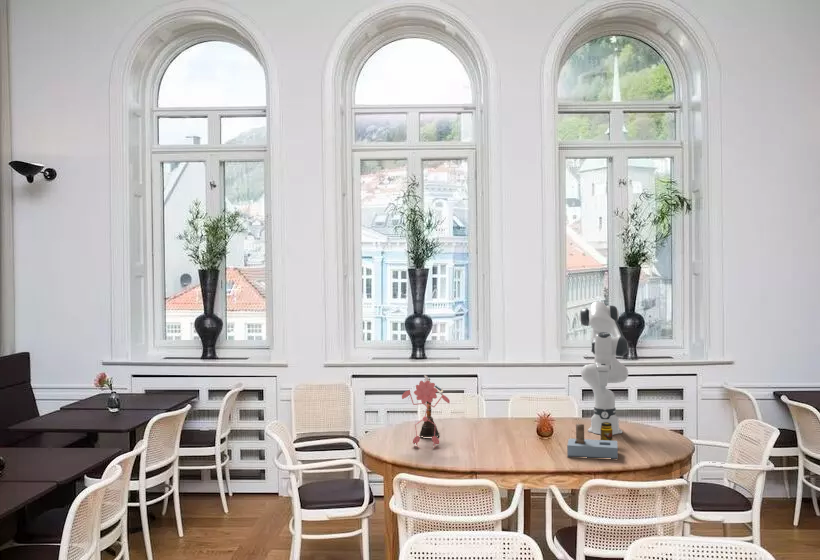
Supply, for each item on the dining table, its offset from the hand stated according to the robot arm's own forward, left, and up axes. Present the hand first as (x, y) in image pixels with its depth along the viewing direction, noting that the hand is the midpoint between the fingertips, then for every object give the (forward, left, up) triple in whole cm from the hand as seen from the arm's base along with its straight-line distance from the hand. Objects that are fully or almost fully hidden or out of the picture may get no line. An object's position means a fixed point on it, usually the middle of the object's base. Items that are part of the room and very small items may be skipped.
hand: (603, 391), depth 364 cm
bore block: (+10, -5, -31) cm, 32 cm away
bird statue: (-11, -92, -31) cm, 98 cm away
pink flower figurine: (+9, -91, -31) cm, 97 cm away
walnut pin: (+10, -11, -30) cm, 33 cm away
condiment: (-10, +1, -31) cm, 32 cm away
